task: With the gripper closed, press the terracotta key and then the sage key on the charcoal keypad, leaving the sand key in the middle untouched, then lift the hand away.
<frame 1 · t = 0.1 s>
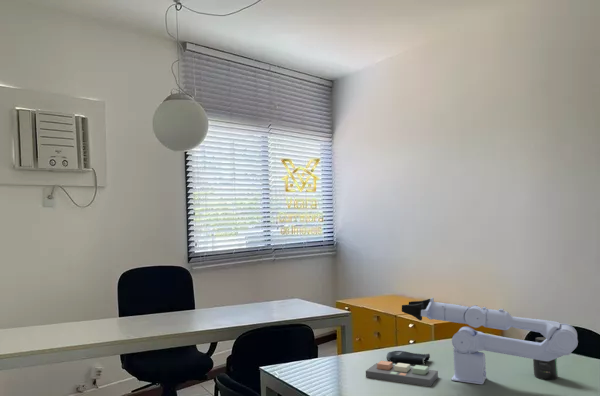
hand: (405, 306, 162), 22 cm above the table, tool horizontal, fingers open, 7 cm apart
supplement bottle: (545, 377, 152), on the table
electronic device: (407, 362, 173), on the table
sage key: (420, 369, 153), point 3 cm above the table, slide at 0.0 cm
keypad: (401, 377, 155), on the table
terracotta key: (384, 365, 159), point 3 cm above the table, slide at 0.0 cm
sand key: (402, 367, 156), point 3 cm above the table, slide at 0.0 cm
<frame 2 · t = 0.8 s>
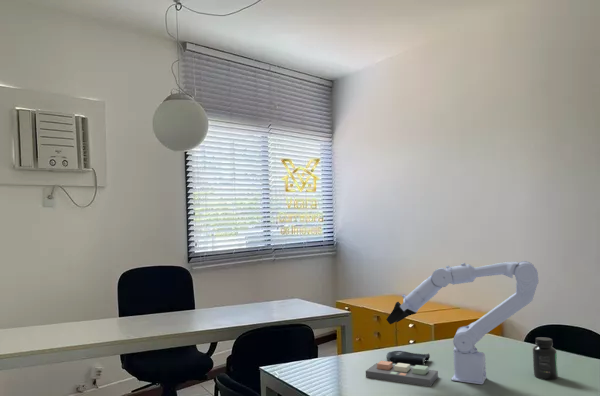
hand: (391, 320, 162), 17 cm above the table, tool tilted 50°, fingers open, 7 cm apart
nothing on the table moved.
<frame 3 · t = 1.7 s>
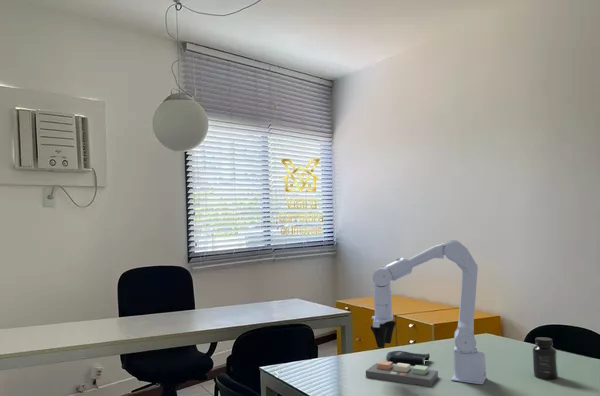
hand: (384, 345, 159), 9 cm above the table, tool pointing down, fingers open, 6 cm apart
nothing on the table moved.
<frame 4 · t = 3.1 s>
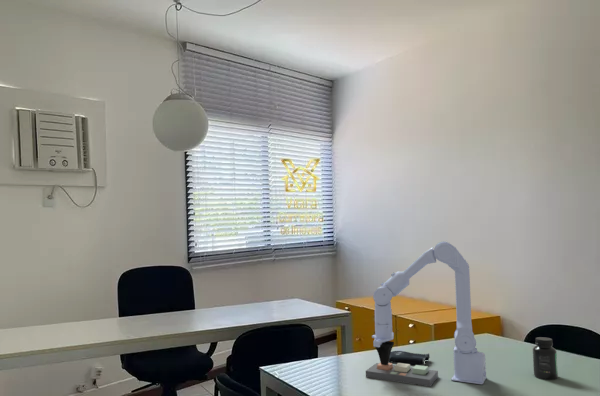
hand: (384, 364, 159), 3 cm above the table, tool pointing down, fingers closed, pressing on terracotta key
terracotta key: (384, 366, 159), point 2 cm above the table, slide at 0.5 cm, touching gripper
everything else where it was.
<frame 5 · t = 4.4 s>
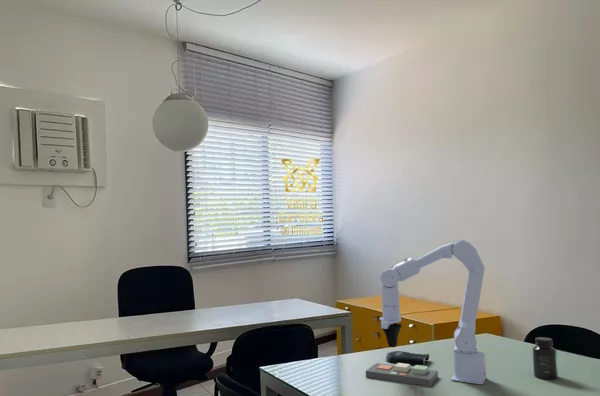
hand: (392, 346, 158), 9 cm above the table, tool pointing down, fingers closed
terracotta key: (385, 369, 159), point 2 cm above the table, slide at 1.3 cm
everything else where it was.
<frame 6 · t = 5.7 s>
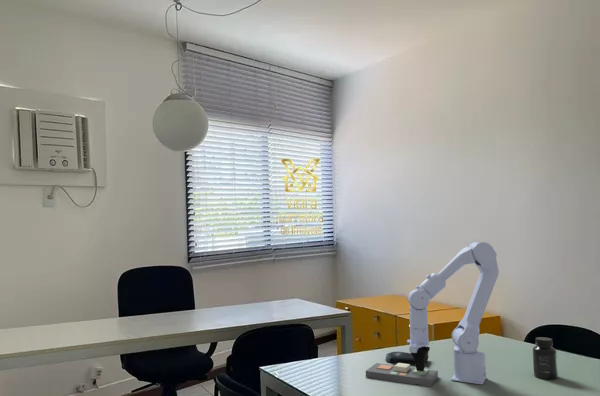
hand: (420, 370, 153), 3 cm above the table, tool pointing down, fingers closed, pressing on sage key
sage key: (420, 372, 153), point 2 cm above the table, slide at 0.9 cm, touching gripper
everything else where it was.
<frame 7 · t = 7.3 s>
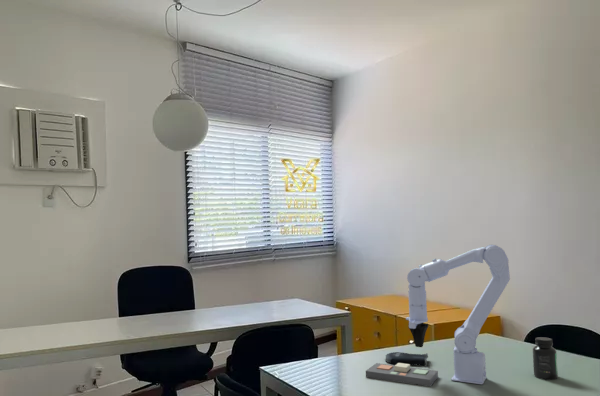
hand: (419, 346, 157), 9 cm above the table, tool pointing down, fingers closed
sage key: (420, 374, 153), point 2 cm above the table, slide at 1.3 cm
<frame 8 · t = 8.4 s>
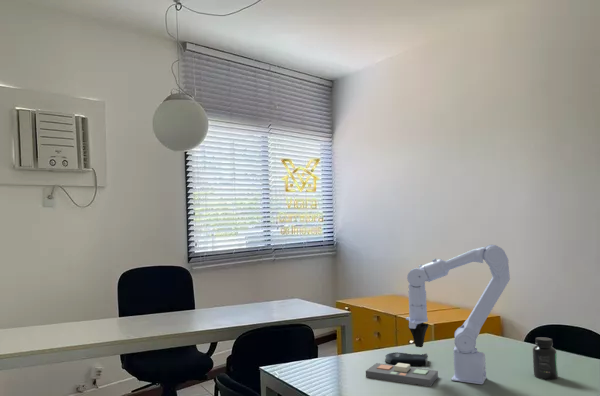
hand: (419, 346, 157), 9 cm above the table, tool pointing down, fingers closed
at the end: terracotta key slide at 1.3 cm; sage key slide at 1.3 cm; sand key slide at 0.0 cm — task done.
